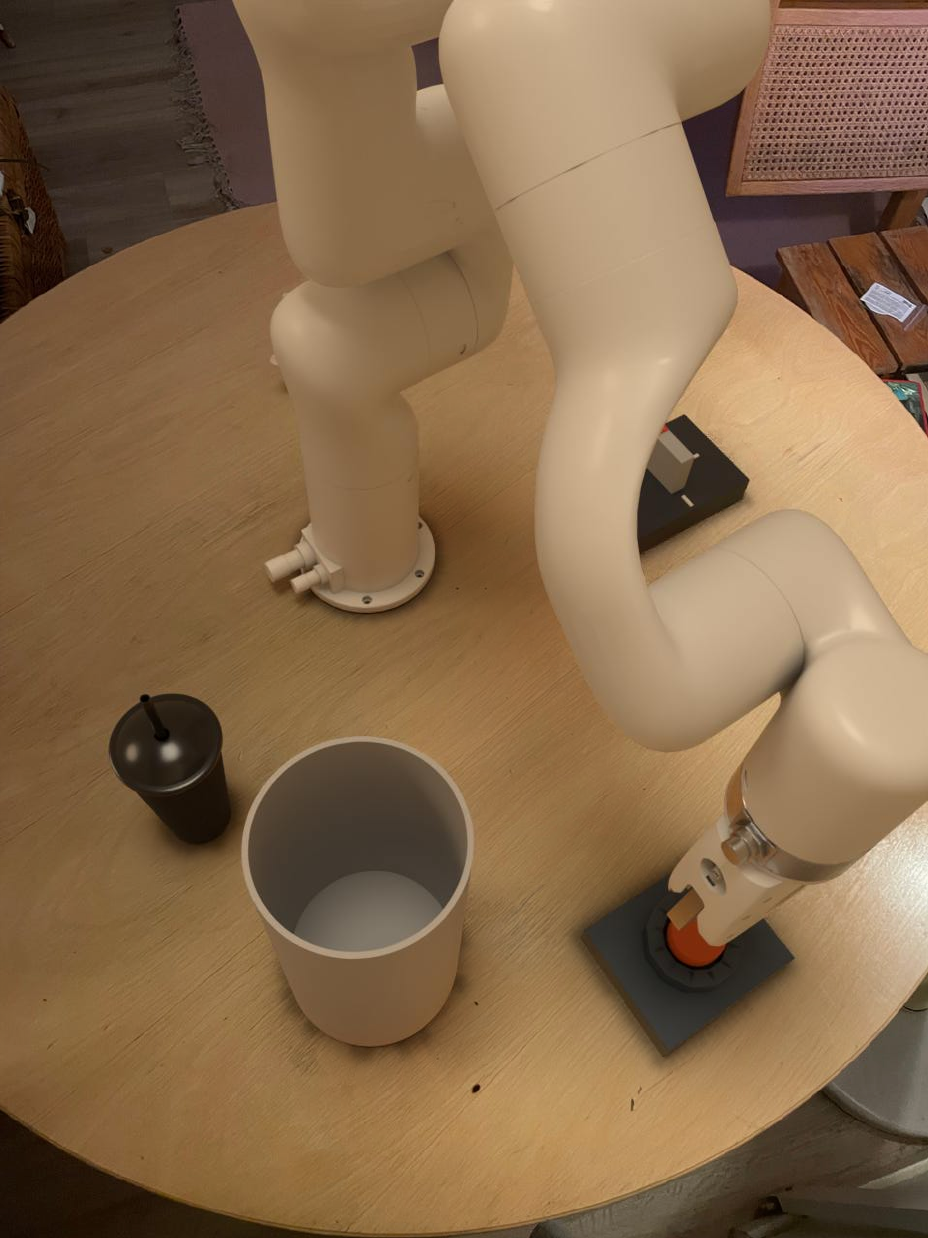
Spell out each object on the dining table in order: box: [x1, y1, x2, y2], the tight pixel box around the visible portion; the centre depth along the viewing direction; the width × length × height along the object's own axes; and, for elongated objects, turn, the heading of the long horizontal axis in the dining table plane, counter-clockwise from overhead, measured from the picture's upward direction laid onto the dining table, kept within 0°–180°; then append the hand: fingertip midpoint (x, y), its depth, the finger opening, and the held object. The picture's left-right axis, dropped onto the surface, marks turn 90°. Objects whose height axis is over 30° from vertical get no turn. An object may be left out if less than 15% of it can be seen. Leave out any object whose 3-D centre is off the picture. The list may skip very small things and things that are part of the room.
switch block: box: [580, 870, 796, 1057], centre depth 77 cm, size 12×10×4 cm
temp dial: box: [646, 425, 694, 494], centre depth 97 cm, size 5×2×5 cm, turn 33°
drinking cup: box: [108, 692, 232, 845], centre depth 74 cm, size 8×8×20 cm
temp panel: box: [637, 413, 751, 555], centre depth 101 cm, size 14×10×3 cm
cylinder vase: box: [240, 735, 475, 1047], centre depth 67 cm, size 12×12×25 cm
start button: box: [667, 920, 726, 967], centre depth 75 cm, size 4×4×2 cm
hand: (712, 906), depth 70 cm, fingers closed
